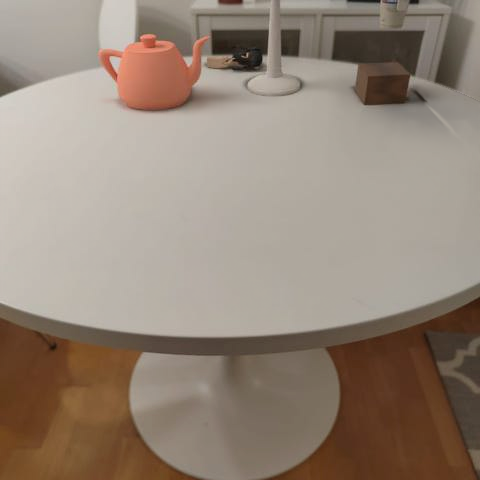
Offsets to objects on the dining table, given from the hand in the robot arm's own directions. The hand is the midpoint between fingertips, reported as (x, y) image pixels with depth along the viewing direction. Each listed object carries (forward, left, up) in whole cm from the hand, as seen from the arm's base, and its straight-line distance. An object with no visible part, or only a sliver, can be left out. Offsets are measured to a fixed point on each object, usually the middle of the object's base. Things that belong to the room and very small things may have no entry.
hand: (394, 5), depth 92 cm
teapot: (+50, -5, -18) cm, 53 cm away
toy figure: (+32, -26, -18) cm, 45 cm away
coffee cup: (0, 0, -4) cm, 4 cm away
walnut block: (0, 0, -18) cm, 18 cm away
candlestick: (+23, -10, -18) cm, 31 cm away
